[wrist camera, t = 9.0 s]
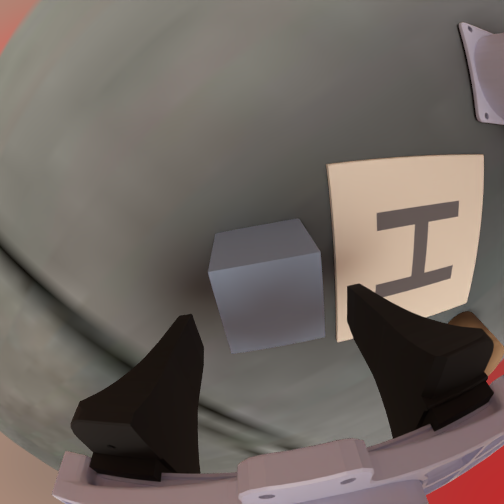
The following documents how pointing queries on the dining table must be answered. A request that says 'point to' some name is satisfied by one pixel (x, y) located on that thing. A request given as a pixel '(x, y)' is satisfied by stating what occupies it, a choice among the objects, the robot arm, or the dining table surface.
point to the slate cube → (268, 285)
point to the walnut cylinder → (472, 321)
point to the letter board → (406, 230)
